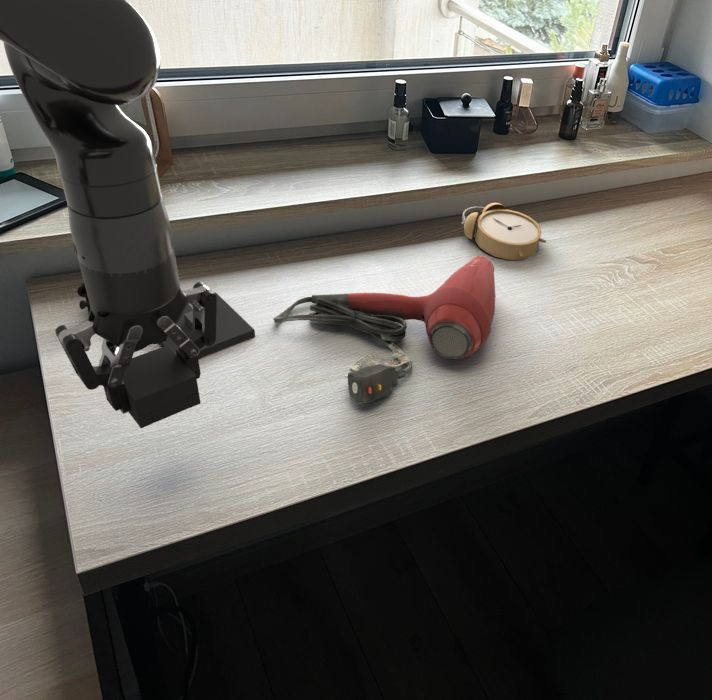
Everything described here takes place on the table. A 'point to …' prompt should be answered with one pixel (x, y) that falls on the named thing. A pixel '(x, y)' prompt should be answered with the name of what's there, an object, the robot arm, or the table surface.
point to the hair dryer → (438, 311)
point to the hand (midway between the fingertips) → (157, 394)
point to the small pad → (159, 386)
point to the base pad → (227, 328)
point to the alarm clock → (503, 231)
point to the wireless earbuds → (83, 293)
